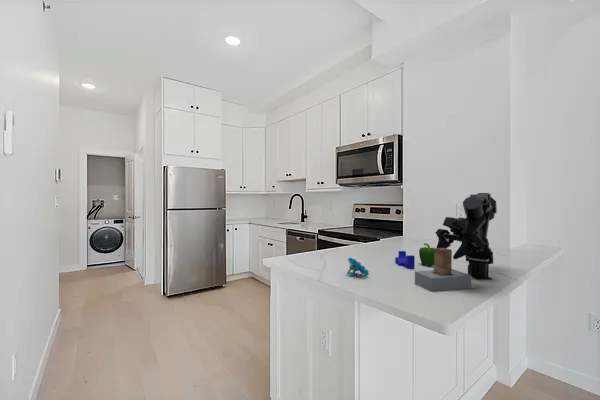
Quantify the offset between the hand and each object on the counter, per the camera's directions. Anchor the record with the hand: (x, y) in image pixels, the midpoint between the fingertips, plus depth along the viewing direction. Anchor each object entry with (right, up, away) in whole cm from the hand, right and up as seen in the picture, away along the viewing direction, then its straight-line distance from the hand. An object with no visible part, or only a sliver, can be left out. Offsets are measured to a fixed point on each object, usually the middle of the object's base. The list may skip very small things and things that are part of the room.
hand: (444, 255), depth 107 cm
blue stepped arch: (-4, -11, +30) cm, 32 cm away
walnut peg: (-1, -10, 0) cm, 10 cm away
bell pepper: (+8, -11, +32) cm, 35 cm away
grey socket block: (-1, -11, 0) cm, 11 cm away
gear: (-29, -11, +14) cm, 33 cm away
